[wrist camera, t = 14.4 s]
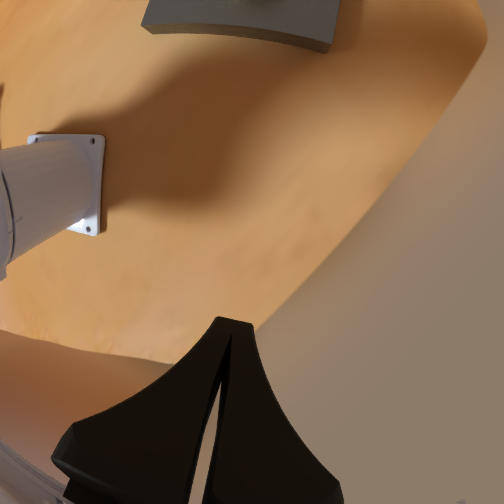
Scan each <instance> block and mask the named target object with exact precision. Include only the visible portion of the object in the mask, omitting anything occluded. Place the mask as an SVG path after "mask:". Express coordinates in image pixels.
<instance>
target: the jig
mask: <svg viewBox="0 0 504 504" xmlns="http://www.w3.org/2000/svg"><path fill="white" fill-rule="evenodd" d="M339 4H340V0H150V1H149V4H148V6H147V9H146V12H145V14H144V17H143V20H142V23H141V26H142V27H143V28H145V29H146V30H148V31H149V32H150V33H152V34H169V33H195V34H217V35H229V36H239V37H248V38H255V39H262V40H268V41H274V42H279V43H284V44H289V45H294V46H298V47H303V48H307V49H311V50H315V51H318V52H322V53H327V52H328V50H329V48H330V47H331V45H332V42H333V37H334V32H335V26H336V21H337V15H338V10H339Z"/></svg>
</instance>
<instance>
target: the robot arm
mask: <svg viewBox="0 0 504 504" xmlns="http://www.w3.org/2000/svg"><path fill="white" fill-rule="evenodd" d="M93 139H95V143H94V144H93ZM104 146H105V138H104V136H103V135H92V134H35V135H30V136H29V137H28V142H27V145H22V146H16V147H11V148H6V149H1V150H0V281H2V280H3V279H4V278H6V276H7V275H6V266H7V264H9V263H10V262H12V261H13V260H15V259H16V258H18V257H19V256H21V255H23V254H24V253H26V252H27V251H29V250H30V249H32V248H34V247H35V246H37V245H39V244H40V243H42V242H44V241H45V240H47V239H49V238H50V237H52V236H54V235H56V234H57V233H59V232H61V231H63V230H64V229H68V230H72V231H76V232H80V233H83V234H87V235H91V236H96V235H98V234H99V233H100V200H101V180H102V166H103V156H104ZM89 227H90V228H91V230H89ZM221 380H222V381H221ZM220 383H221V391H220V400H219V401H220V402H219V410H218V420H217V429H216V436H215V442H214V447H213V451H212V456H211V461H210V466H209V471H208V476H207V480H206V485H205V490H204V495H203V499H202V504H344V499H343V494H342V490H341V487H340V483H339V481H338V480H337V479H336V478H335V477H334V476H333V475H332V474H331V473H330V472H329V471H328V470H327V469H326V468H325V467H324V466H323V465H322V464H321V463H320V462H319V461H318V460H317V458H316V457H315V456H314V455H313V454H312V452H311V451H310V450H309V449H308V448H307V446H306V445H305V444H304V442H303V441H302V440H301V438H300V437H299V435H298V434H297V433H296V431H295V430H294V428H293V427H292V425H291V424H290V422H289V421H288V419H287V417H286V416H285V414H284V412H283V411H282V409H281V407H280V405H279V403H278V401H277V399H276V397H275V395H274V393H273V391H272V389H271V386H270V384H269V382H268V379H267V377H266V374H265V371H264V369H263V366H262V363H261V359H260V357H259V353H258V349H257V345H256V341H255V335H254V326H253V325H252V324H251V323H247V322H243V321H238V320H233V319H229V318H224V317H220V316H218V317H216V318H215V319H214V321H213V322H212V324H211V325H210V327H209V328H208V330H207V331H206V332H205V334H204V335H203V336H202V337H201V339H200V340H199V341H198V342H197V343H196V344H195V345H194V346H193V347H192V349H191V350H190V351H189V352H188V353H187V354H186V355H185V356H184V357H183V358H182V359H181V360H179V361H178V362H177V363H176V364H175V365H174V366H173V367H172V368H171V369H170V370H169V371H167V372H166V373H165V374H164V375H162V376H161V377H160V378H158V379H157V380H156V381H154V382H153V383H152V384H150V385H149V386H147V387H146V388H144V389H143V390H141V391H140V392H138V393H137V394H135V395H133V396H132V397H130V398H128V399H126V400H124V401H123V402H121V403H119V404H117V405H115V406H113V407H111V408H109V409H107V410H105V411H103V412H101V413H98V414H95V415H93V416H90V417H88V418H85V419H83V420H80V421H77V422H74V423H73V424H72V425H71V426H70V427H69V428H68V430H67V431H66V432H65V434H64V435H63V436H62V438H61V439H60V441H59V443H58V445H57V447H56V448H55V450H54V452H53V454H52V456H51V459H52V462H53V463H54V464H55V466H56V467H58V468H59V469H60V470H61V471H62V472H63V473H64V474H66V475H67V476H68V477H69V478H70V480H69V482H68V484H67V486H66V485H64V484H62V483H60V482H59V481H57V480H55V479H54V478H52V477H51V476H49V475H48V474H46V473H45V472H43V471H42V470H40V469H39V468H37V467H36V466H34V465H33V464H31V463H30V462H29V461H27V460H26V459H25V458H24V457H22V456H21V455H19V454H18V453H17V452H16V451H15V450H13V449H12V448H11V447H10V446H8V445H7V444H6V443H5V442H4V441H3V440H1V439H0V504H64V503H63V502H65V503H66V504H188V502H189V498H190V493H191V489H192V484H193V480H194V475H195V470H196V466H197V461H198V457H199V452H200V448H201V444H202V439H203V435H204V432H205V428H206V425H207V422H208V419H209V416H210V413H211V410H212V407H213V404H214V401H215V398H216V395H217V392H218V389H219V386H220ZM62 501H63V502H62ZM454 504H466V503H465V500H464V499H462V500H460V501H458V502H456V503H454Z"/></svg>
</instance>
